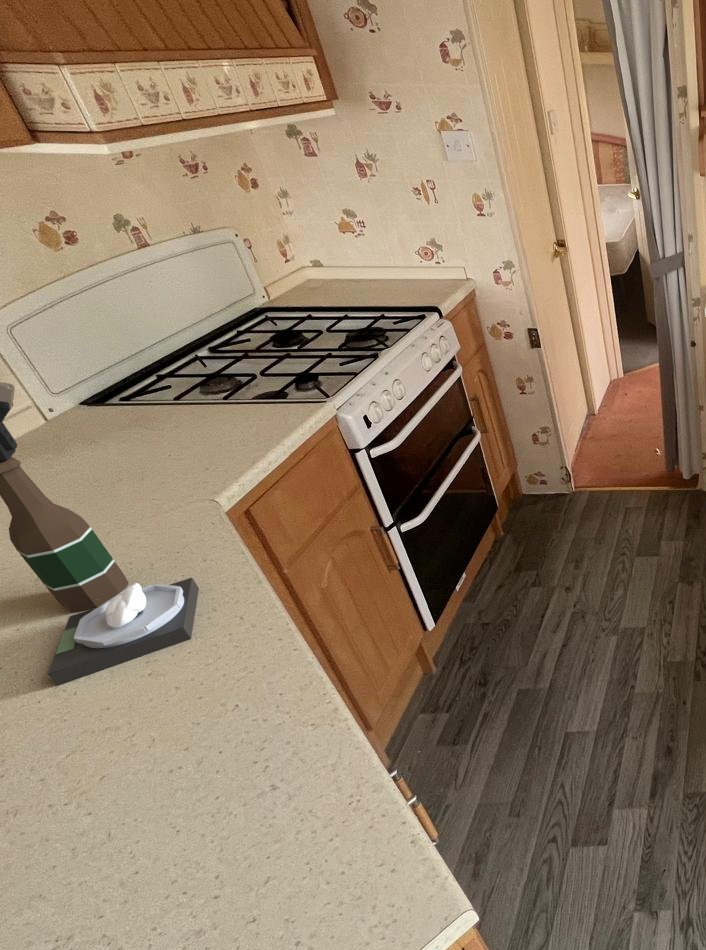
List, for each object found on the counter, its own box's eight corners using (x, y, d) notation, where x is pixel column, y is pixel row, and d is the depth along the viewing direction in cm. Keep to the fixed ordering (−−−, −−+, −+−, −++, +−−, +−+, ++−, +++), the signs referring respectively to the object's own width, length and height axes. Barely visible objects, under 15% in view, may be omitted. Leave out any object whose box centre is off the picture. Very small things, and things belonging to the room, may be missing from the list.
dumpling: (160, 617, 94) (138, 602, 91) (116, 640, 92) (92, 625, 89) (154, 586, 98) (133, 570, 95) (112, 607, 96) (89, 591, 93)
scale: (57, 685, 88) (40, 666, 86) (78, 627, 97) (63, 608, 95) (191, 638, 94) (178, 619, 92) (199, 588, 104) (187, 570, 102)
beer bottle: (129, 572, 108) (38, 441, 95) (131, 595, 103) (34, 461, 90) (63, 595, 103) (-42, 461, 91) (62, 621, 98) (-50, 483, 86)
